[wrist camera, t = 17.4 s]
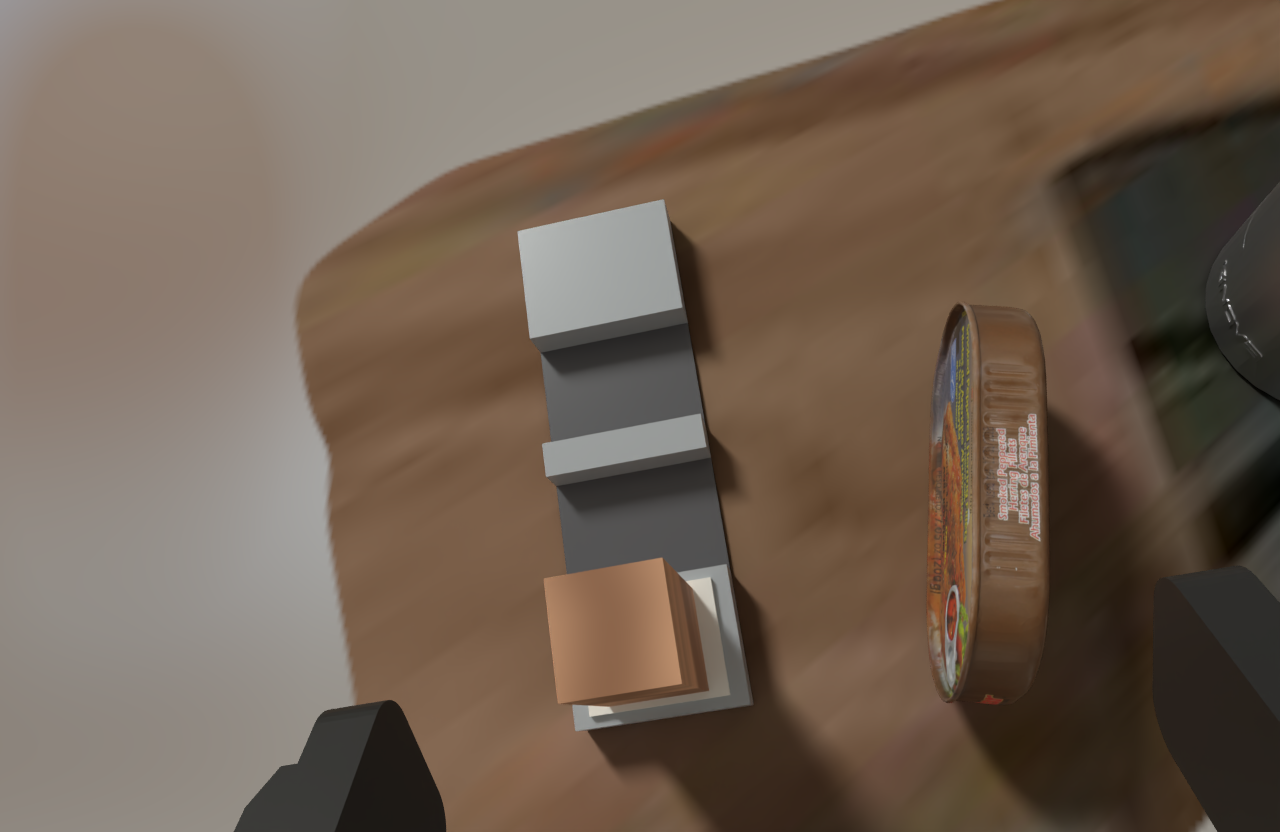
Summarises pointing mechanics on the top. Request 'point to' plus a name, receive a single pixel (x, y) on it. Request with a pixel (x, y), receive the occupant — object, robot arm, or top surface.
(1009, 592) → the tin
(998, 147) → the top surface
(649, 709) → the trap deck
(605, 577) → the block
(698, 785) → the top surface
